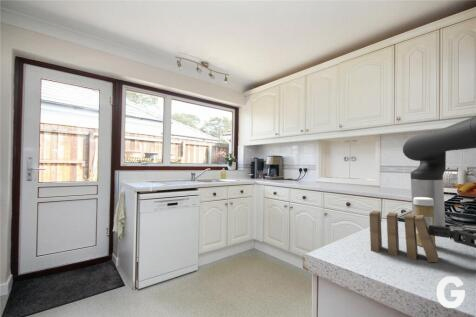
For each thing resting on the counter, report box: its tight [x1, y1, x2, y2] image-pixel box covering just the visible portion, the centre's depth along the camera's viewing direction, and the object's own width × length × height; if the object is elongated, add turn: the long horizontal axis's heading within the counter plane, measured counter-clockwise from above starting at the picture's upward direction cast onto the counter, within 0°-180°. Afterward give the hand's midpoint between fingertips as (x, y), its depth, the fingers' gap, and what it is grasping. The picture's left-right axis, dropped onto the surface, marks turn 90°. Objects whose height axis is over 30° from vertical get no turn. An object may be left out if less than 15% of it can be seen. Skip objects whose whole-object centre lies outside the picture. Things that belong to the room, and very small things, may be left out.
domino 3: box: [413, 215, 439, 263], centre depth 57 cm, size 5×2×10 cm, turn 139°
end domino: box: [369, 210, 383, 253], centre depth 64 cm, size 5×2×10 cm, turn 139°
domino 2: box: [403, 213, 419, 260], centre depth 59 cm, size 5×2×10 cm, turn 139°
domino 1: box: [386, 211, 400, 257], centre depth 62 cm, size 5×2×10 cm, turn 139°
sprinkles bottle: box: [413, 197, 437, 248], centre depth 66 cm, size 5×5×13 cm
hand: (428, 229), depth 57 cm, fingers closed
